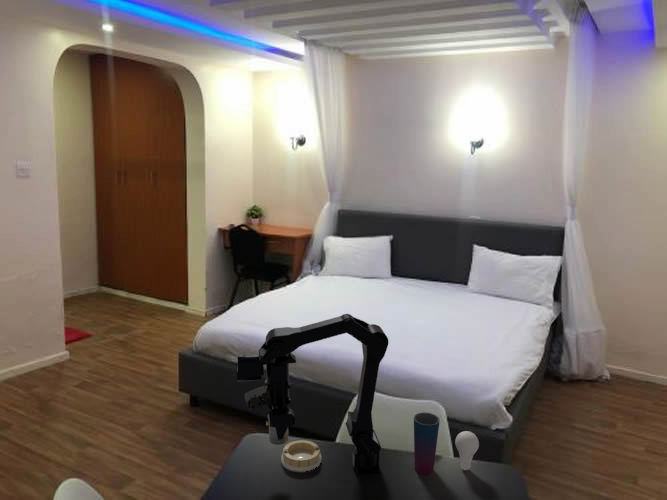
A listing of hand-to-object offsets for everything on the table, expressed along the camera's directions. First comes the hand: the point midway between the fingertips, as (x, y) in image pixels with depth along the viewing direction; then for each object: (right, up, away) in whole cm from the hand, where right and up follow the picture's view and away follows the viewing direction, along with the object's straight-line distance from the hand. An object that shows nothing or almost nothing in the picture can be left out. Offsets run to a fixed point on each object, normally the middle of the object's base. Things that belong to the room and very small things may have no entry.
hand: (278, 434), depth 145 cm
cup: (+39, -11, +5) cm, 41 cm away
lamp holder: (+5, -10, +8) cm, 14 cm away
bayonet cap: (0, -2, 0) cm, 2 cm away
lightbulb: (+50, -11, +5) cm, 51 cm away
